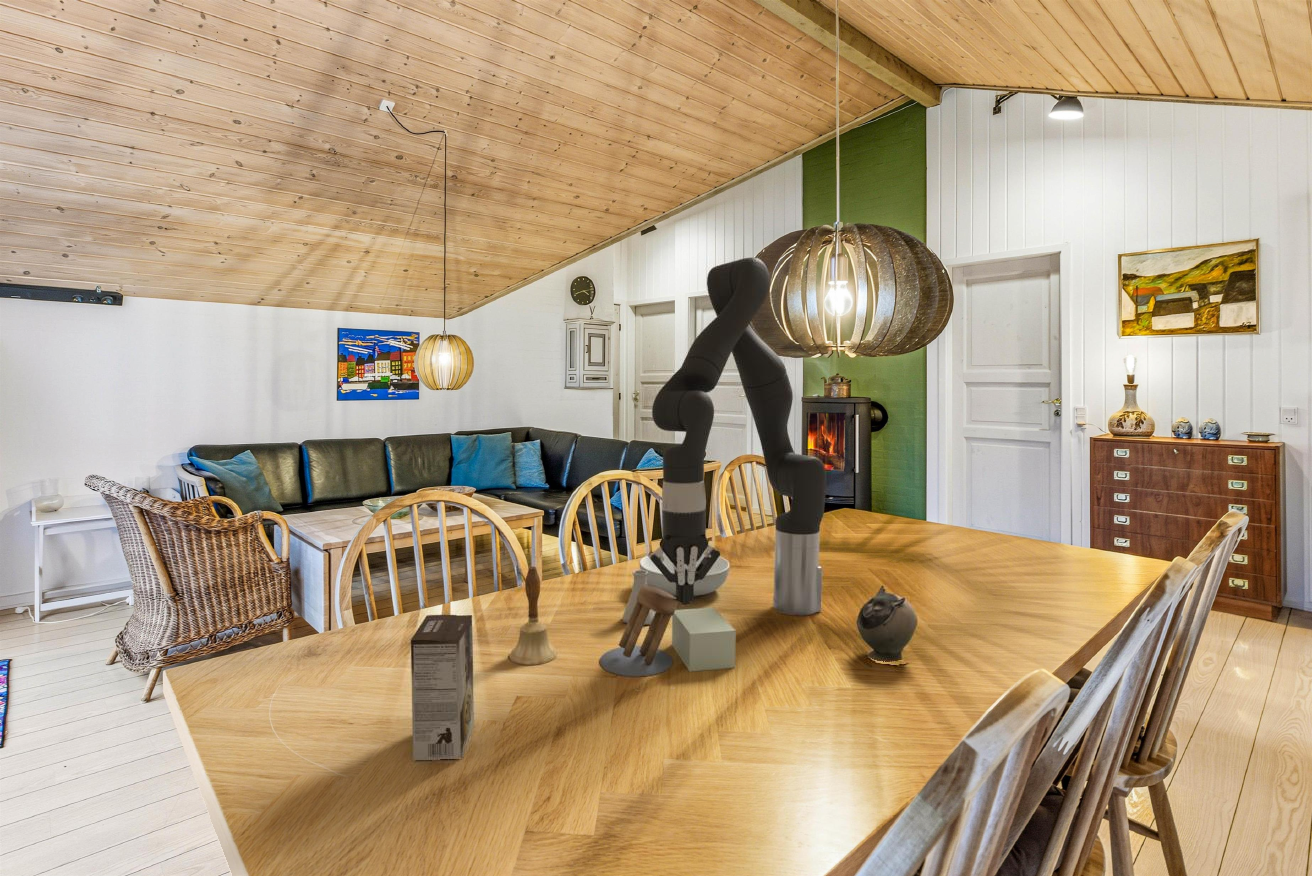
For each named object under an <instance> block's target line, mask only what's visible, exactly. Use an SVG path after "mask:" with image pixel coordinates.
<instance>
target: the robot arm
mask: <svg viewBox="0 0 1312 876" xmlns="http://www.w3.org/2000/svg"><path fill="white" fill-rule="evenodd" d="M706 287H707V293H708V297H709V299H710V303H711V305H712V307H713V310H714V312H715V315H716V317H715V318H714V319H713V320H712V321H711V322H710V323H709V324H708V325H707V326H706V327H704V329H702V331H701V332H700V333H699V334H698V335H697V336H696V337H695V339H694V340H693V342H692V344H691V346H690V348H689V349H688V352H687V354H686V356H685V358H684V361H683V362H682V365H681V366H680V368H679V369H678V370H677V371H676V372H675V373H674V374H673V375H672V376H671V377H670V378H669V379H668V380H667V381H666V383H665V384H664V385H663V386H662V387H661V388H660V389H659V391H658V392H657V394H656V396H655V398H654V401H653V403H652V410H651V416H652V419H653V420H652V421H653V422H654V424H655V426H656V427H658V428H659V429H660V430H662V431H666V432H683V433H685V436H684V438H683V441H682V443H681V444H675V445H671V446H668V447H666V448H665V449H664V451H663V454H662V476H663V478H662V489H661V490H662V491H661V515H662V516H661V523H662V524H661V525H662V526H661V527H662V529H661V530H662V532H661V533H662V534H661V535H662V536H661V537H662V538H661V539H660V541H659V547H658V548H657V549H656V550H654V551H651V552H649V553H648V557H649V558H650V560H651V561H652V562H653V563H654V564H655V566H656V567H657V568H658V569H659V570H660V571H661V573H662V574H663V575H664V576H665V577H666V579H667V580H668V581H669V582H671V583H672V582H674V583H676V596H675V598H677V600H678V601H679V602H678V603H680V605H681V606H690V605H691V602H693V601H694V598H695V596H694V583H695V582H696V581H697V580H702V579H703V578H704V577H705V576H706V574H707V573H708V571H709V570H710V569H711V567H712V566H713V564H714V563H715V562H716V560H717V559H718V558H719V556H720V557H721V552H720V551H719V550H718V549H717V548H715V547H713V546H711V545H710V544H709V543H710V542H709V540H708V538H707V535H706V534H707V530H706V529H707V527H706V525H707V524H706V523H707V521H706V520H707V519H706V518H707V517H706V516H707V514H706V512H707V510H706V509H707V508H706V506H707V500H706V498H707V497H706V496H707V495H706V488H705V487H706V485H705V454H706V449H707V447H708V445H707V444H708V440H709V437H710V433H711V429H712V426H713V423H714V418H715V417H714V416H715V407H714V403H713V400H712V398H711V396H709V394H708V393H710V392H712V391H713V390H714V389H715V388H716V386H717V385H718V383H719V381H720V378H721V376H722V374H723V371H724V369H725V367H726V365H727V362H728V360H729V358H730V355H731V354H732V356H733V359H734V362H735V365H736V369H737V371H738V374H739V378H740V382H741V385H742V388H743V391H744V394H745V398H746V400H747V403H748V406H749V408H750V409H749V410H750V411H751V414H752V417H753V420H754V425H755V428H756V431H757V434H758V438H759V442H760V446H761V450H762V455H763V460H764V464H765V469H766V473H767V474H766V475H767V478H768V480H769V483H770V485H771V487H772V489H773V490H774V491H775V492H776V493H777V494H779V495H781V496H785V497H789V498H791V505H790V509H789V510H788V511H786V512H783V513H780V514H778V515H777V516H776V517H775V529H774V531H775V535H774V568H773V569H774V572H773V574H774V575H773V578H774V579H773V598H772V599H773V600H772V601H773V603H772V604H773V605H772V606H773V609H774V610H776V611H777V612H779V613H782V614H785V615H790V616H808V615H809V616H810V615H814V614H815V613H817V612H818V613H820V612H822V591H823V589H822V588H823V567H822V566H820V564H819V562H820V558H819V557H820V532H821V531H820V530H821V523H822V520H823V517H824V513H825V504H826V502H825V501H826V493H827V492H826V490H827V471H826V467H825V465H824V463H823V461H822V460H821V459H820V458H818V457H816V456H813V455H806V454H805V455H804V454H798V453H795V450H794V448H793V446H792V443H791V440H790V436H789V433H788V432H789V431H788V423H789V419H790V415H791V410H792V407H793V405H792V404H793V397H794V396H793V388H792V385H791V381H790V380H789V379H790V378H789V376H788V373H787V372H788V371H787V369H786V366H785V364H784V362H783V360H782V359H781V358H780V356H778V354H777V353H776V352H775V351H774V350H773V349H772V348H771V347H770V346H769V345H768V344H767V343H765V342H764V341H763V339H761V338H760V337H759V336H758V335H757V333H756V332H755V330H754V329H753V328H752V326H751V325H750V324H751V322H752V320H753V319H754V317H755V316H756V315H757V313H758V312H759V311H760V309H761V308H762V306H763V305H764V303H765V301H766V300H767V298H768V296H769V293H770V289H771V277H770V272H769V269H768V268H767V265H766V264H765V263H764V262H763V260H761V259H760V258H758V257H753V256H752V257H751V256H750V257H744V258H741V259H737V260H736V259H735V260H733V261H730V262H729V261H728V262H727V263H726V262H725V263H722V264H719V265H716V266H713V267H712V268H711V269H710V270H709V272H708V273H707V277H706ZM663 553H665V555H666V556H667V557H668V558H669V560H670V561H671V562H672V563H673V568H674V573H671V572H670V571H669V570H668V569H667V568H666V566H665V565H664V564H663V563H662V562H663V561H664V557H663ZM703 553H704V556H705V557H704V558H703V559H702V561H701V562H700V564H699V565H698V566H697V568H696V562H697V561H698V560H699V559H700V557H701V556H702V554H703Z"/></svg>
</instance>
